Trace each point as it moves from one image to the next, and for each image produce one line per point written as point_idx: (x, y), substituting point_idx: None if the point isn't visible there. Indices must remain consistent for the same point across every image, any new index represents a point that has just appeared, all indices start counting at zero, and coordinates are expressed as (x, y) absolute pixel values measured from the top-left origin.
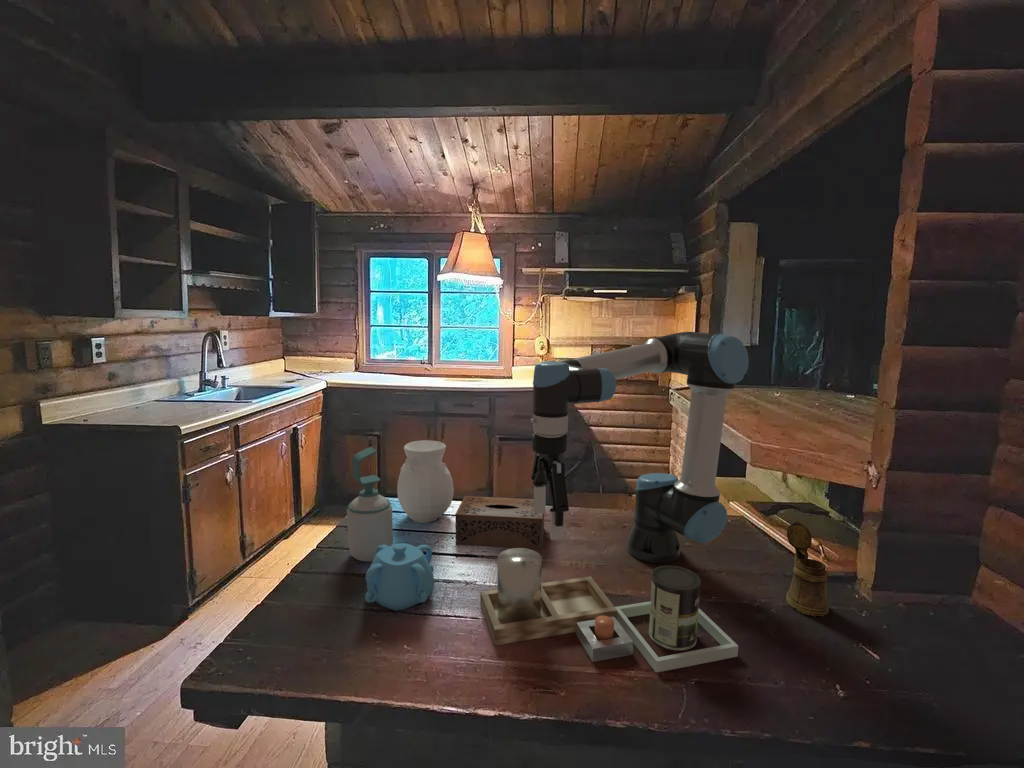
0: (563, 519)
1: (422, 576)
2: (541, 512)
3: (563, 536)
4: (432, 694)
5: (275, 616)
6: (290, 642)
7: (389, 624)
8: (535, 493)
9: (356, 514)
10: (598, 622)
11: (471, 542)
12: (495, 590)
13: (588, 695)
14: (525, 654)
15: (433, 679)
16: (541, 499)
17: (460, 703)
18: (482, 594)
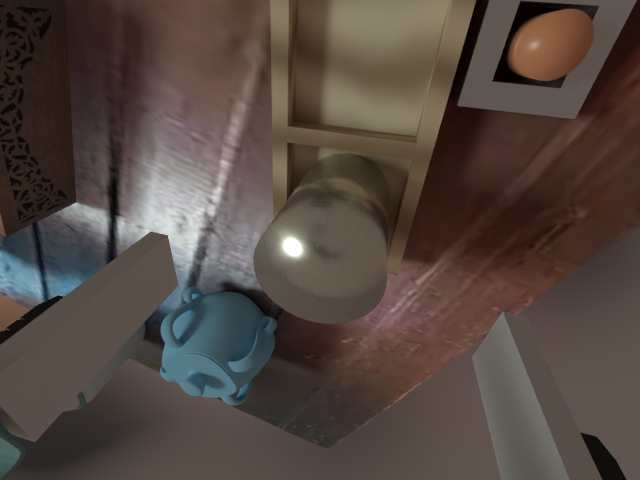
0: (588, 462)
1: (258, 357)
2: (168, 257)
3: (529, 329)
4: (448, 347)
5: (250, 404)
6: (296, 405)
7: (293, 341)
8: (79, 389)
9: (86, 401)
10: (546, 71)
11: (67, 178)
12: None
13: (629, 173)
14: (446, 224)
15: (423, 338)
16: (107, 317)
17: (485, 331)
18: None
